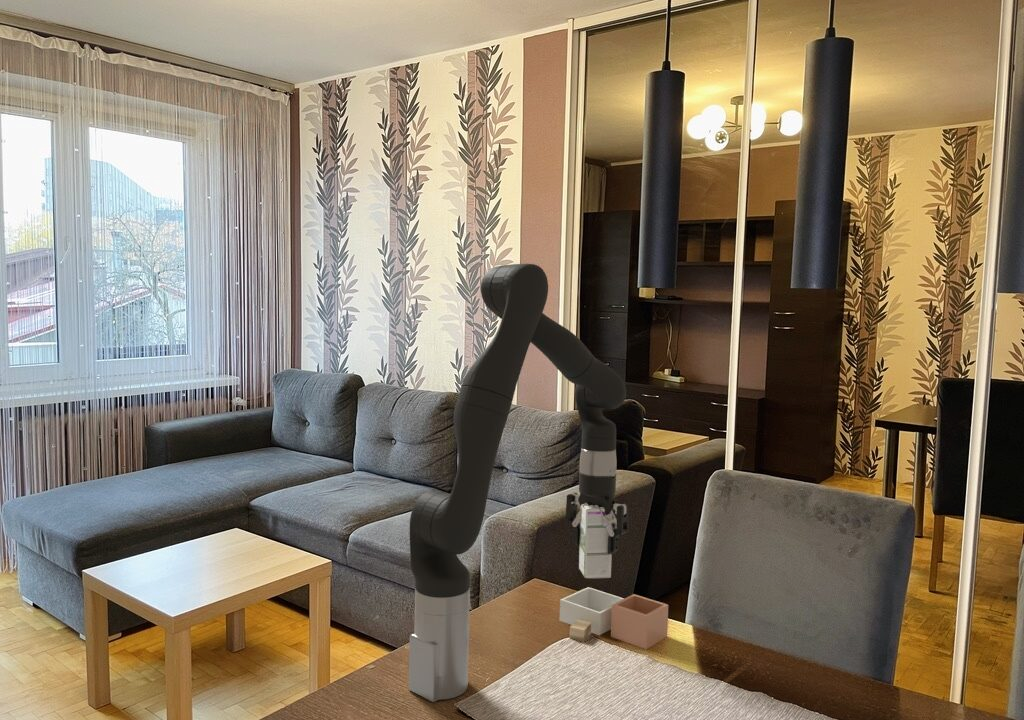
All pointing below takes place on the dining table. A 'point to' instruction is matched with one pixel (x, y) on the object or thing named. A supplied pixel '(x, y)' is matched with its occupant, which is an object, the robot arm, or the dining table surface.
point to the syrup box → (594, 544)
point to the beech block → (580, 630)
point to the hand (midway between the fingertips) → (595, 548)
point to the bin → (589, 609)
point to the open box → (639, 621)
